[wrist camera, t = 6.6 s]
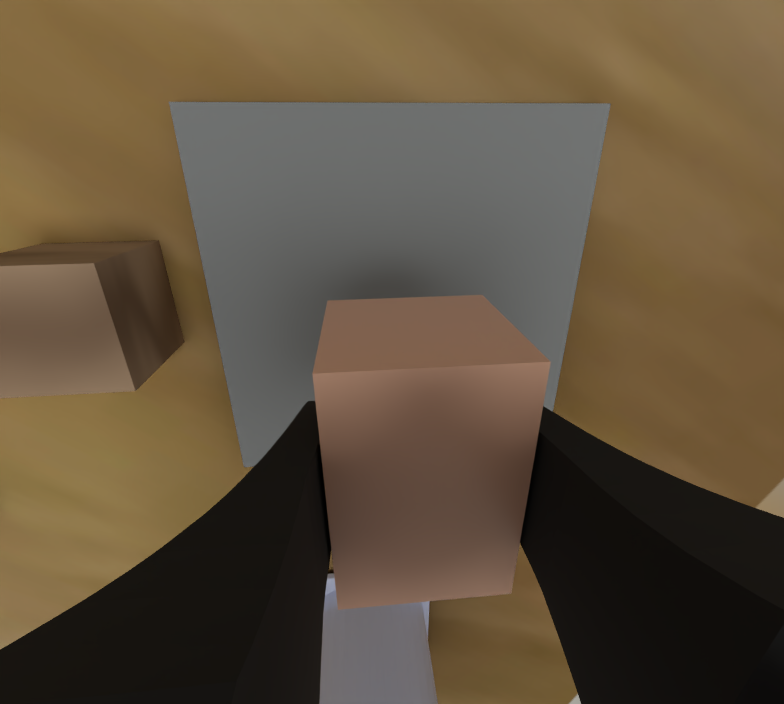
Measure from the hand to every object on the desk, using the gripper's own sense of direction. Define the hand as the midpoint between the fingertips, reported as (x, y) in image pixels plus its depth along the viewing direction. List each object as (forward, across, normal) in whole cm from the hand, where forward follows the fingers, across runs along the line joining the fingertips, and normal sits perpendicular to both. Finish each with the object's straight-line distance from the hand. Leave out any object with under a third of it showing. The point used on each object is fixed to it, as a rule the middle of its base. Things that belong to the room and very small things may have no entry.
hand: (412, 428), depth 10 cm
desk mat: (+9, 0, 0) cm, 9 cm away
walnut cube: (+9, +12, -1) cm, 15 cm away
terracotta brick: (+1, 0, 0) cm, 1 cm away
